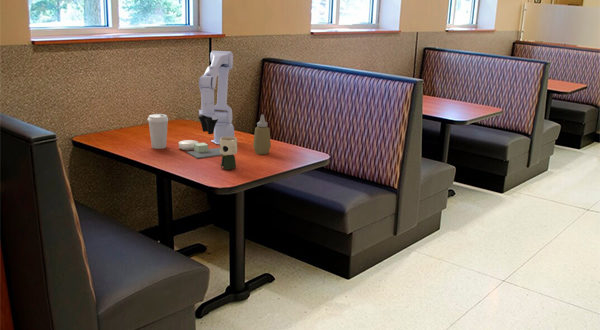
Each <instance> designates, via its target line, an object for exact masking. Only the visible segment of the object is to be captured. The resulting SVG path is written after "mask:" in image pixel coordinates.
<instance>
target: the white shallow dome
mask: <svg viewBox="0 0 600 330" xmlns="http://www.w3.org/2000/svg"><path fill="white" fill-rule="evenodd" d="M196 143H199V141H198V140H192V139H187V140H186V139H184V140H180V141H178V148H179V149H181V150H183V151H195V150H194V144H196Z"/></svg>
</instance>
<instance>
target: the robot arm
mask: <svg viewBox="0 0 600 330" xmlns="http://www.w3.org/2000/svg"><path fill="white" fill-rule="evenodd" d="M209 59H210V63H211V64H210V65H209V66H207V67H206V69H205V72H204V73H203V75H200V76H199V79H198V87H199V92H200V104H201V105H200V106H201V107H200V109H198V116H197V118H198V120H199V122H200V124H201V129H202V131H203V133H204V132H207V133H208V135H213V139H211V140H210V141H211V142H212V143H214V144H216V145H219V146H220V138H221V137H235V127H234V125H233V124H232V122H233V110H232V107H230V106H229V105H228V103H227V102H228V89H229V88H228V87H229V72H230V70H233V67H234V54H233V52H232V51H230V50H229V51H228V50H226V51H225V50H224V51H223V50H214V49H213V50H211V52H210V56H209ZM217 78H218V79H217ZM216 85H217V95H216V96H217V97H216V104H215V89H216Z"/></svg>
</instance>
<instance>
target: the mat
mask: <svg viewBox="0 0 600 330" xmlns="http://www.w3.org/2000/svg"><path fill="white" fill-rule="evenodd" d="M186 154H188V155H190V156H192V157H193V158H195V159H197V160H199V159H207V158H212V157H222V156H223V154H221V153H220V147H215V148H208V151H207V152H199V153H198V152H196V151H195V150H188V151H186Z"/></svg>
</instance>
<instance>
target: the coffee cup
mask: <svg viewBox="0 0 600 330" xmlns="http://www.w3.org/2000/svg"><path fill="white" fill-rule="evenodd" d="M168 121H169V118H168V115H167V114H163V113H154V114H150V115H148V117H147V122H148V126H149V134H150V141H151V143H150V144H151V148H152V149H155V150H156V149H157V150H161V149H166V148H167V137H168V136H167V135H168Z"/></svg>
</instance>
